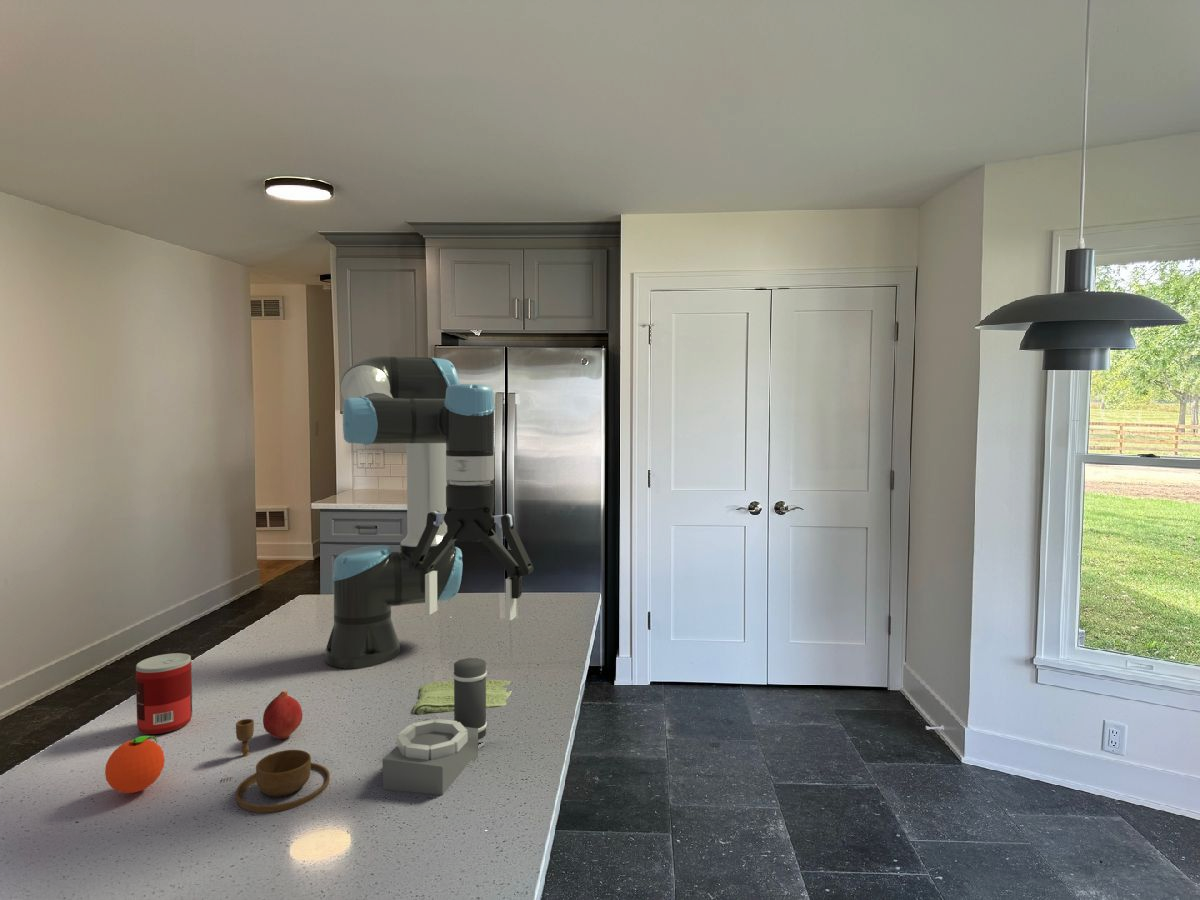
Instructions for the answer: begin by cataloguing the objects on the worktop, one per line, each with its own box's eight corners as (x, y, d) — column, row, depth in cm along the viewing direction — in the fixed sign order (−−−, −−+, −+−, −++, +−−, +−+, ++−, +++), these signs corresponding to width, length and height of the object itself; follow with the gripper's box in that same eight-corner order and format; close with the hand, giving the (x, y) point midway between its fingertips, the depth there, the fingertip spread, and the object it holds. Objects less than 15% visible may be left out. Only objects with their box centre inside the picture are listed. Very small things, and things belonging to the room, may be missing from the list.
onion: (263, 750, 108) (263, 700, 108) (262, 735, 113) (262, 687, 113) (304, 742, 111) (303, 693, 111) (301, 728, 116) (300, 681, 116)
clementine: (134, 772, 101) (133, 725, 101) (180, 773, 101) (179, 726, 101) (92, 802, 93) (91, 751, 93) (143, 804, 93) (141, 752, 93)
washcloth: (514, 719, 121) (514, 701, 121) (411, 725, 119) (410, 707, 118) (513, 690, 134) (513, 674, 134) (420, 695, 132) (420, 678, 131)
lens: (448, 748, 109) (447, 667, 109) (462, 734, 114) (461, 656, 114) (478, 752, 108) (478, 670, 107) (491, 737, 113) (491, 659, 113)
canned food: (202, 718, 120) (201, 655, 119) (160, 738, 112) (158, 671, 112) (170, 712, 122) (168, 650, 122) (126, 731, 115) (124, 665, 114)
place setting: (201, 830, 88) (200, 784, 88) (233, 757, 107) (232, 720, 107) (347, 807, 94) (346, 765, 93) (352, 742, 113) (352, 706, 112)
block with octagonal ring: (444, 803, 94) (443, 756, 94) (381, 794, 96) (381, 748, 96) (479, 760, 105) (479, 719, 105) (422, 753, 108) (422, 713, 107)
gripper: (386, 482, 109) (387, 616, 109) (537, 486, 103) (537, 627, 104) (409, 478, 116) (410, 604, 117) (552, 482, 110) (552, 614, 111)
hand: (470, 615), depth 110 cm, fingers open, 13 cm apart
